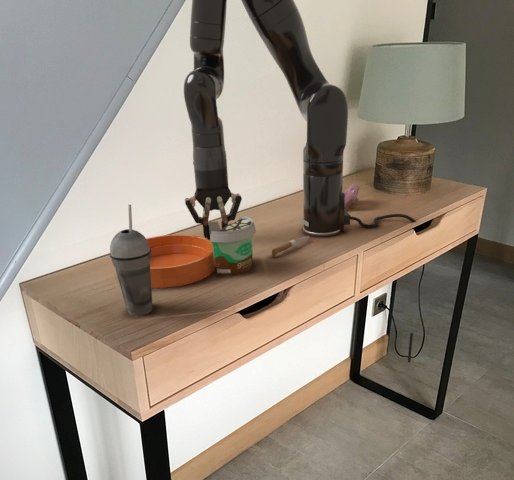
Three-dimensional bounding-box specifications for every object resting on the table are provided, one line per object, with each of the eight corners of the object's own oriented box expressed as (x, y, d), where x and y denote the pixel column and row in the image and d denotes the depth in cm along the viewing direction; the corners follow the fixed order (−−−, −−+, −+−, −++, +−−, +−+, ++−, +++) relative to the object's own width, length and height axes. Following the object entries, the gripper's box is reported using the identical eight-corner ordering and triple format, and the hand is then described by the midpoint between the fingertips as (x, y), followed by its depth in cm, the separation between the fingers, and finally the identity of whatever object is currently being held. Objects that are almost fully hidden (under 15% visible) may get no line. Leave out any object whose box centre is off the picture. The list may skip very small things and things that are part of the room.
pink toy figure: (349, 217, 155) (362, 194, 152) (334, 209, 155) (346, 186, 152) (351, 206, 164) (363, 184, 160) (337, 199, 164) (349, 176, 160)
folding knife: (306, 239, 137) (306, 231, 136) (312, 241, 136) (312, 233, 135) (269, 257, 129) (269, 248, 128) (274, 258, 128) (274, 249, 127)
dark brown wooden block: (222, 230, 146) (222, 220, 145) (230, 250, 134) (229, 239, 132) (204, 232, 145) (203, 222, 144) (209, 252, 133) (208, 241, 132)
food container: (239, 283, 117) (235, 235, 112) (213, 278, 120) (209, 231, 115) (267, 262, 126) (266, 217, 121) (243, 258, 129) (240, 214, 124)
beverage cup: (122, 304, 111) (104, 200, 101) (161, 301, 111) (145, 197, 101) (118, 321, 105) (97, 213, 95) (158, 318, 105) (142, 209, 95)
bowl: (211, 249, 135) (209, 230, 133) (220, 283, 117) (219, 262, 115) (123, 258, 132) (120, 239, 130) (120, 294, 115) (116, 273, 113)
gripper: (180, 171, 127) (188, 246, 136) (243, 166, 129) (247, 240, 137) (178, 164, 134) (186, 236, 142) (238, 159, 135) (243, 230, 144)
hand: (216, 237), depth 140 cm, fingers open, 3 cm apart
